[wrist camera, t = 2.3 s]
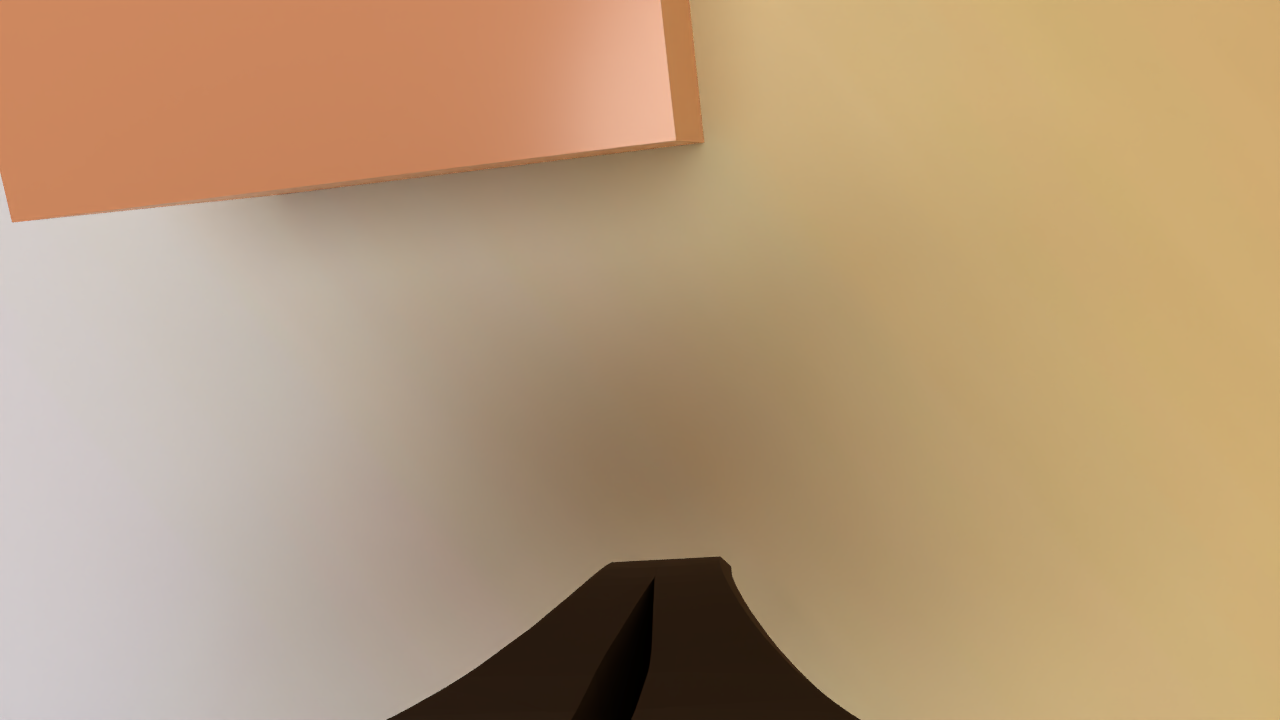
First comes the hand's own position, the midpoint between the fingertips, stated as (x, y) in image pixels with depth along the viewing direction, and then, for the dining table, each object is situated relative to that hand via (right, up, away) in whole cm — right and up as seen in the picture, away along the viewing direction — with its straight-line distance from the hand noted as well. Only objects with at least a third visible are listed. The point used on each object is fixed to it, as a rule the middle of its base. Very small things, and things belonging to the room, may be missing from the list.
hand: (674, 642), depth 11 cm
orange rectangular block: (-4, +9, +9) cm, 14 cm away
